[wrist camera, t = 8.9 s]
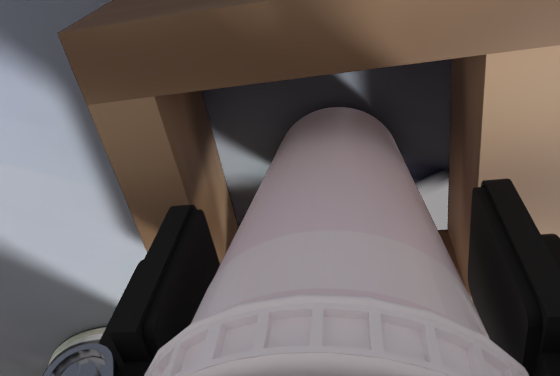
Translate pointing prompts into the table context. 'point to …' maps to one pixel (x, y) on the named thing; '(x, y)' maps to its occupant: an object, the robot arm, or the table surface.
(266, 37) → the wooden divided tray
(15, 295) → the table surface
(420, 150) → the table surface
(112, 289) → the table surface
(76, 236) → the table surface
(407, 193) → the smoothie
